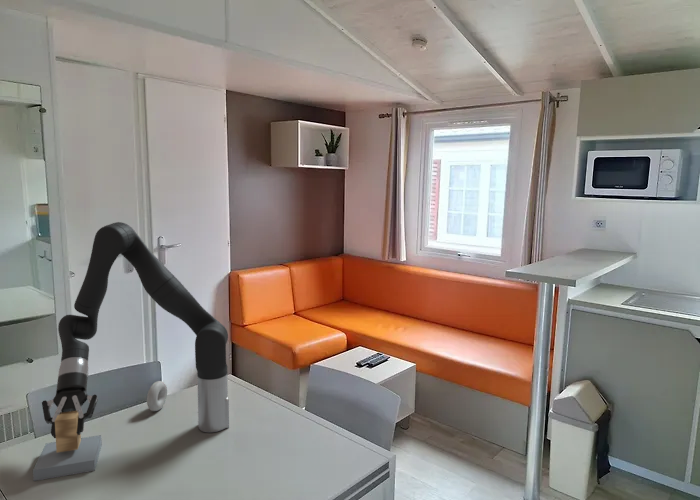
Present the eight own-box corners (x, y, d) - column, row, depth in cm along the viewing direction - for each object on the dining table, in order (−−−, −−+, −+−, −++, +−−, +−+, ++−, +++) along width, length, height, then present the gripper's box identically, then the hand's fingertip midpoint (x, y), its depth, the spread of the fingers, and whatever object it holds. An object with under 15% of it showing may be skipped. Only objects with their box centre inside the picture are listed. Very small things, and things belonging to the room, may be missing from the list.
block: (80, 440, 133) (79, 410, 132) (77, 449, 128) (76, 418, 127) (60, 443, 131) (58, 412, 130) (56, 452, 127) (54, 421, 126)
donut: (154, 416, 157) (153, 388, 156) (145, 416, 157) (144, 387, 156) (169, 403, 167) (168, 376, 166) (160, 403, 167) (159, 376, 166)
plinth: (101, 444, 139) (101, 435, 139) (94, 470, 126) (94, 460, 126) (46, 453, 134) (46, 443, 134) (33, 481, 121) (32, 470, 121)
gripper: (41, 374, 132) (32, 435, 122) (99, 368, 137) (94, 426, 127) (47, 385, 137) (39, 444, 128) (102, 379, 143) (98, 435, 133)
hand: (67, 435), depth 128 cm, fingers closed on block, 5 cm apart
